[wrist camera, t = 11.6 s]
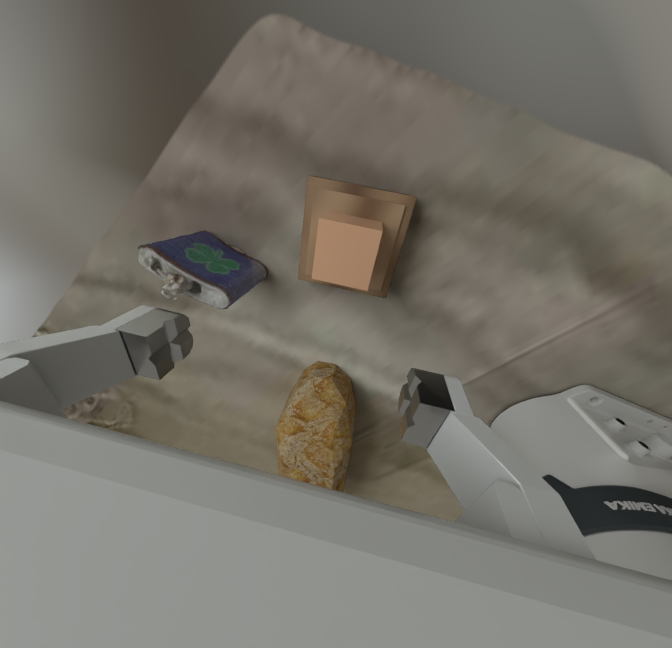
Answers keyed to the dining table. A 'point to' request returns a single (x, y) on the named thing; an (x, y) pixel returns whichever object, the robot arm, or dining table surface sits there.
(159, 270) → the flask
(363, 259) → the terracotta block
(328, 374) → the bread
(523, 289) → the dining table surface
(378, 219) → the walnut plinth
